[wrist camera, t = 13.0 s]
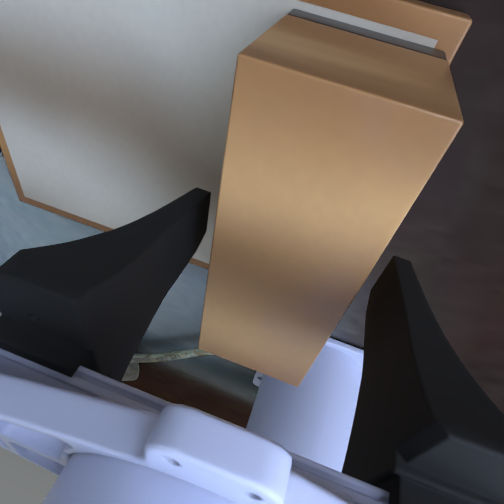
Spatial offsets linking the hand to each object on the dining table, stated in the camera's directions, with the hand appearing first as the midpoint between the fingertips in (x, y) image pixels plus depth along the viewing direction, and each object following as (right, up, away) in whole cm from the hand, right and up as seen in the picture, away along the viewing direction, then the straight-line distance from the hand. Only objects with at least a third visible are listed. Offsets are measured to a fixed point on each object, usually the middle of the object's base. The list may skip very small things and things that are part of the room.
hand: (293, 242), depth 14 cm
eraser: (+1, +2, +2) cm, 3 cm away
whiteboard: (-5, +5, +4) cm, 8 cm away
